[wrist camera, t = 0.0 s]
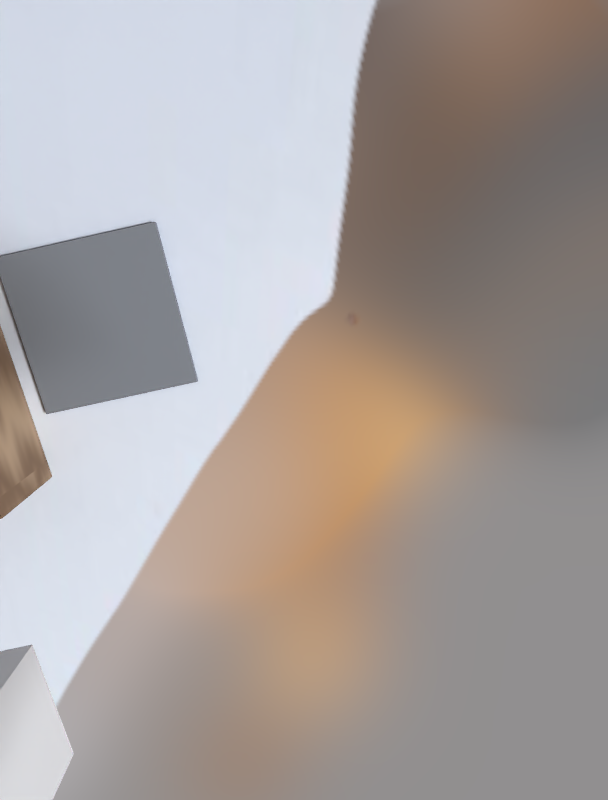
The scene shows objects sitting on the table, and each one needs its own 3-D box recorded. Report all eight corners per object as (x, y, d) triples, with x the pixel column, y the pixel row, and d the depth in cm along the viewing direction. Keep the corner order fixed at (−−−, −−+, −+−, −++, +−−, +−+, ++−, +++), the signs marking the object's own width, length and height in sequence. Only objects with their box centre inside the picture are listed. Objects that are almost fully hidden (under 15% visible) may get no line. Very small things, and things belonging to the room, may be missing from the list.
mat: (-3, 257, 36) (-6, 257, 35) (156, 222, 35) (154, 221, 35) (49, 412, 38) (46, 414, 38) (198, 380, 38) (197, 381, 37)
